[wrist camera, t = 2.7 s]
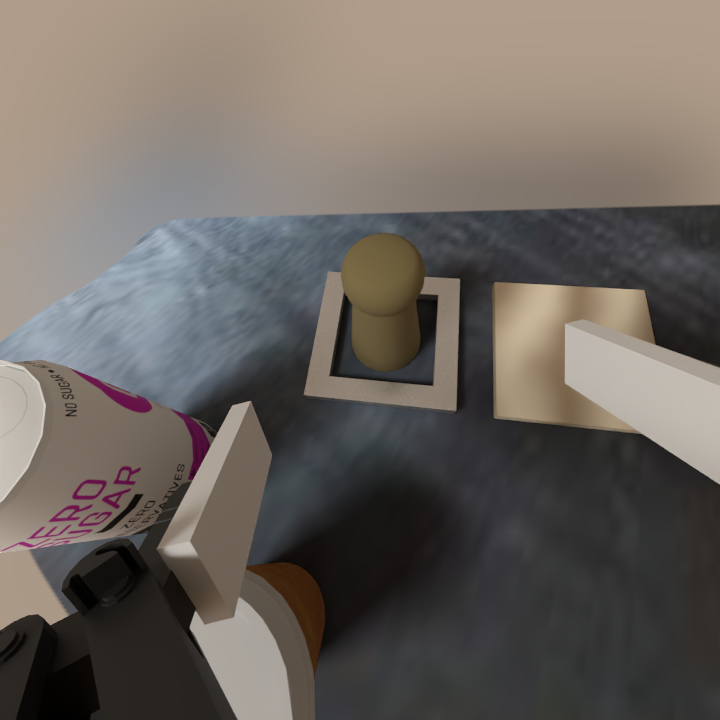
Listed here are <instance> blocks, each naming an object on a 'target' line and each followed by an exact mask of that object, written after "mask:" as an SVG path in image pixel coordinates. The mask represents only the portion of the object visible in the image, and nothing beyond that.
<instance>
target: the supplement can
mask: <svg viewBox="0 0 720 720" xmlns="http://www.w3.org/2000/svg"><path fill="white" fill-rule="evenodd" d="M217 434H218V433H217V432H216V431H215V430H213V429H212V428H211V427H210V426H209V425H207V424H206V423H205V422H202V421H200V420H197V419H195V418H192V417H190V416H187V415H185V414H182V413H180V412H177V411H175V410H172V409H170V408H167V407H165V406H162V405H160V404H157V403H155V402H152V401H150V400H148V399H145V398H143V397H140V396H138V395H135V394H133V393H130V392H128V391H125V390H123V389H120V388H118V387H115V386H113V385H110V384H108V383H105V382H103V381H100V380H98V379H95V378H93V377H90V376H88V375H85V374H83V373H81V372H78V371H76V370H73V369H71V368H68V367H65V366H62V365H58V364H54V363H51V362H47V361H44V360H37V361H25V362H14V363H9V362H6V361H2V360H0V553H4V552H12V551H19V550H27V549H34V548H41V547H48V546H56V545H63V544H70V543H77V542H84V541H92V540H99V539H106V538H113V537H121V536H128V535H135V534H142V533H149V531H150V529H151V528H152V526H153V525H155V521H156V519H157V517H158V516H159V514H160V513H162V509H163V507H164V505H165V504H166V502H167V500H168V498H169V497H170V496H171V495H172V494H173V493H174V492H175V491H176V490H177V489H178V488H179V487H180V486H181V485H182V484H183V483H187V482H191V481H193V479H194V477H195V475H196V473H197V472H198V470H199V468H200V466H201V464H202V462H203V460H204V458H205V456H206V454H207V453H208V451H209V449H210V447H211V445H212V443H213V441H214V439H215V437H216V435H217Z"/></svg>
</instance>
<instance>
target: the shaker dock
mask: <svg viewBox="0 0 720 720" xmlns="http://www.w3.org/2000/svg"><path fill="white" fill-rule="evenodd" d="M345 296H346V294H345V292H344V290H343V286H342V280H341V272H328V275H327V280H326V285H325V290H324V295H323V300H322V305H321V310H320V315H319V321H318V326H317V331H316V336H315V341H314V346H313V351H312V356H311V361H310V366H309V371H308V376H307V381H306V386H305V391H304V396H305V397H306V398H307V399H317V400H326V401H336V402H345V403H354V404H364V405H373V406H383V407H392V408H402V409H411V410H421V411H430V412H439V413H449V414H455V412H456V404H457V369H458V334H459V299H460V279H454V278H435V277H425V278H424V285H423V289H422V290H421V292H420V294H419V296H418V298H417V300H429V301H437V312H436V330H435V348H434V365H433V383H432V386H426V385H416V384H406V383H395V382H385V381H374V380H364V379H353V378H343V377H333V376H332V372H333V367H334V361H335V355H336V349H337V343H338V337H339V332H340V326H341V320H342V314H343V308H344V302H345Z"/></svg>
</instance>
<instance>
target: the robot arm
mask: <svg viewBox="0 0 720 720" xmlns="http://www.w3.org/2000/svg"><path fill="white" fill-rule="evenodd" d="M565 384H567V385H568V386H570V387H571V388H573V389H574V390H576V391H578V392H579V393H581V394H582V395H584V396H585V397H587V398H588V399H590V400H591V401H593V402H594V403H596V404H597V405H599V406H600V407H602V408H604V409H605V410H607V411H608V412H610V413H611V414H613V415H614V416H616V417H617V418H619V419H620V420H622V421H623V422H625V423H627V424H628V425H630V426H631V427H633V428H634V429H636V430H637V431H639V432H640V433H642V434H643V435H645V436H646V437H648V438H649V439H651V440H653V441H654V442H656V443H657V444H659V445H660V446H662V447H663V448H665V449H666V450H668V451H669V452H671V453H672V454H674V455H676V456H677V457H679V458H680V459H682V460H683V461H685V462H686V463H688V464H689V465H691V466H692V467H694V468H695V469H697V470H698V471H700V472H702V473H703V474H705V475H706V476H708V477H709V478H711V479H712V480H714V481H715V482H717V483H718V484H720V365H717V364H714V363H711V362H707V361H701V360H696V359H693V358H691V357H688V356H685V355H682V354H679V353H677V352H674V351H671V350H668V349H665V348H663V347H660V346H657V345H654V344H651V343H649V342H646V341H643V340H640V339H637V338H635V337H632V336H629V335H626V334H623V333H621V332H618V331H615V330H612V329H609V328H607V327H604V326H601V325H598V324H595V323H593V322H590V321H587V320H584V319H582V320H578V321H574V322H570V323H566V324H565ZM271 459H272V453H271V451H270V448H269V445H268V443H267V440H266V438H265V435H264V433H263V430H262V428H261V425H260V423H259V420H258V418H257V415H256V413H255V410H254V408H253V405H252V403H251V401H248V402H244V403H240V404H236V405H232V407H231V409H230V411H229V413H228V415H227V417H226V418H225V420H224V422H223V424H222V426H221V428H220V430H219V432H218V434H217V435H216V437H215V439H214V441H213V443H212V445H211V447H210V449H209V451H208V453H207V454H206V456H205V458H204V460H203V462H202V464H201V466H200V468H199V470H198V472H197V473H196V475H195V477H194V479H193V481H191V482H187V483H183V484H182V485H181V486H180V487H179V488H178V489H177V490H176V491H175V492H174V493H173V494H172V495H171V496H170V497H169V498H168V500H167V502H166V504H165V505H164V507H163V509H162V513H160V514H159V516H158V517H157V519H156V521H155V525H153V526H152V528H151V529H150V531H149V533H148V535H147V536H146V538H145V540H144V541H143V543H142V545H141V547H140V548H139V550H137V549H136V547H135V546H134V544H133V543H132V542H131V541H130V540H129V539H116V540H113V541H110V542H107V543H105V544H104V545H102V546H100V547H98V548H96V549H94V550H93V551H92V552H90V553H89V554H88V555H87V556H85V557H84V558H83V559H81V560H80V561H79V562H78V563H77V564H76V566H75V567H74V568H73V569H72V570H71V571H70V572H69V574H68V575H67V577H66V579H65V580H64V582H63V586H62V592H63V593H64V594H65V596H66V597H67V598H68V599H69V600H70V602H71V603H72V604H73V605H74V606H75V607H76V609H77V610H78V612H76V613H74V614H72V615H70V616H68V617H66V618H64V619H62V620H60V621H58V622H56V623H54V624H52V625H49V624H48V623H47V622H46V621H45V619H44V618H42V617H41V616H39V615H38V614H36V615H28V616H26V617H23V618H21V619H19V620H17V621H14V622H13V623H11V624H10V625H8V626H7V627H5V628H4V629H2V630H0V720H238V719H237V717H236V715H235V713H234V712H233V710H232V708H231V706H230V704H229V702H228V700H227V698H226V696H225V694H224V692H223V690H222V688H221V686H220V684H219V682H218V680H217V678H216V676H215V674H214V672H213V671H212V669H211V667H210V665H209V663H208V661H207V659H206V657H205V655H204V653H203V651H202V649H201V647H200V645H199V643H198V641H197V639H196V637H195V635H194V634H193V632H192V631H191V629H190V625H191V622H192V619H193V616H194V613H195V610H196V612H197V614H198V615H199V617H200V618H201V620H202V621H203V623H204V625H205V624H209V623H213V622H217V621H221V620H226V619H230V618H234V615H235V611H236V607H237V602H238V598H239V594H240V590H241V585H242V581H243V577H244V573H245V569H246V564H247V560H248V556H249V552H250V547H251V543H252V539H253V535H254V530H255V526H256V522H257V518H258V514H259V509H260V505H261V501H262V497H263V492H264V488H265V484H266V480H267V475H268V471H269V467H270V463H271Z"/></svg>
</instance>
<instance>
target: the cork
mask: <svg viewBox="0 0 720 720" xmlns="http://www.w3.org/2000/svg"><path fill="white" fill-rule="evenodd" d="M424 278H425V267H424V264H423V260H422V257H421V254H420V253H419V251H418V250H417V249H416V247H415V246H414V245H413V244H412V243H411V242H409V241H408V240H406V239H405V238H403V237H401V236H398V235H395V234H390V233H379V234H373V235H369V236H367V237H365V238H363V239H361V240H359V241H358V242H357V243H356V244H355V245H354V246H352V248H351V249H350V250H349V252H348V253H347V255H346V256H345V258H344V261H343V265H342V270H341V280H342V286H343V290H344V292H345V294H346V296H347V297H348V299H349V301H350V302H351V303H352V304H353V309H352V347H353V351H354V353H355V355H356V356H357V358H358V360H359V361H361V362H362V363H363V364H364V365H365V366H367V367H369V368H371V369H373V370H376V371H384V372H389V371H394V370H399V369H401V368H403V367H404V366H406V365H408V364H409V363H410V362H411V361H412V360H413V359H414V358H415V357H416V355H417V353H418V351H419V349H420V341H421V336H420V328H419V320H418V313H417V305H416V300H417V298H418V296H419V294H420V292H421V290H422V289H423V285H424Z"/></svg>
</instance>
